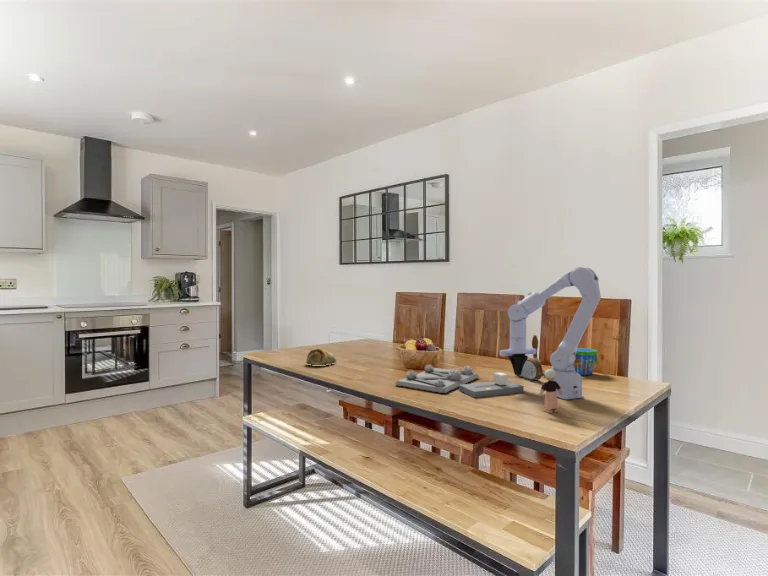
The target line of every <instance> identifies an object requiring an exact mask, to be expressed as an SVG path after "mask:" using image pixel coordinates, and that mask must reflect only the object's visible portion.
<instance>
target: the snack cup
mask: <svg viewBox="0 0 768 576" xmlns="http://www.w3.org/2000/svg"><path fill="white" fill-rule="evenodd" d="M597 354H598V351H597V349H594V348H593V349H592V348H588V347H587V348H583V347H578V348H577V351H576V359H575V362H574V363H573V364H572V365H573V366H574V370H575V372H576V373H579V374H580V375H581V376H589V375H590V376H591V375H593V373H594V367H595V365H598V363H599V362H598V361H599V360H598V359H599V358H598V355H597Z"/></svg>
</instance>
